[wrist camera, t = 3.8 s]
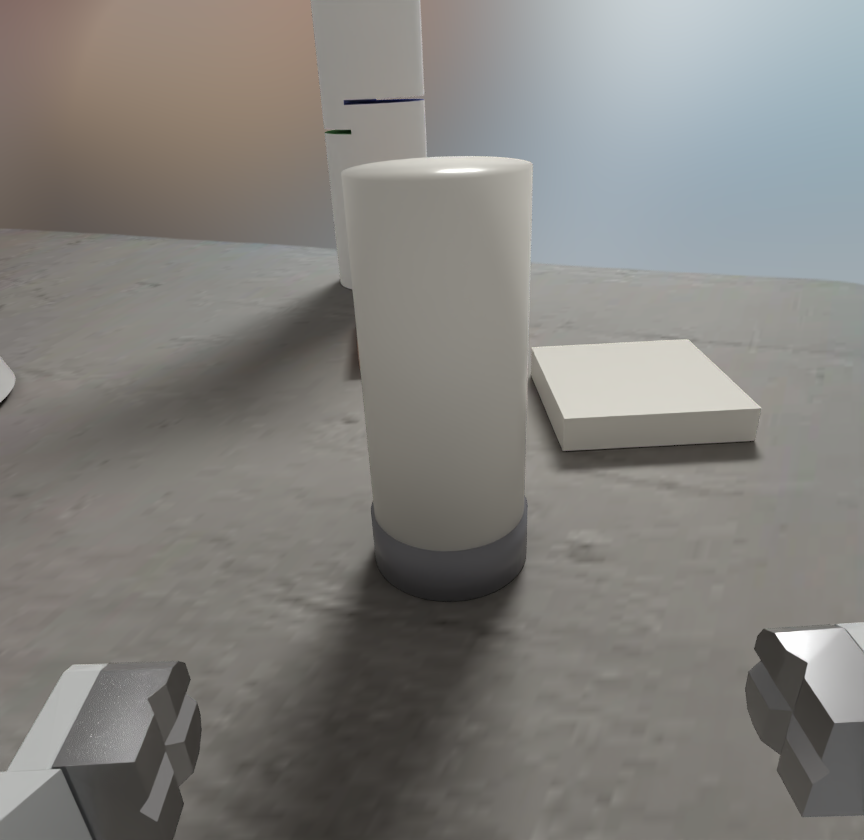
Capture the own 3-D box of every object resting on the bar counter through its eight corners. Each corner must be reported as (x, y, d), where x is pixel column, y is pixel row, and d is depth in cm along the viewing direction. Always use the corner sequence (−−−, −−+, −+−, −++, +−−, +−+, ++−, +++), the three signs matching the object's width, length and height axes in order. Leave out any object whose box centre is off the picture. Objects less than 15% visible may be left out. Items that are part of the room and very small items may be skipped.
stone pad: (562, 451, 28) (564, 418, 27) (530, 374, 35) (531, 347, 34) (754, 440, 28) (761, 408, 27) (684, 366, 35) (687, 339, 34)
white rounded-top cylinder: (372, 605, 20) (327, 186, 15) (378, 510, 25) (345, 161, 19) (538, 596, 20) (555, 176, 15) (514, 502, 25) (520, 152, 19)
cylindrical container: (419, 293, 49) (396, -147, 37) (326, 290, 50) (277, -132, 39) (441, 267, 55) (427, -117, 44) (357, 266, 57) (323, -105, 45)
